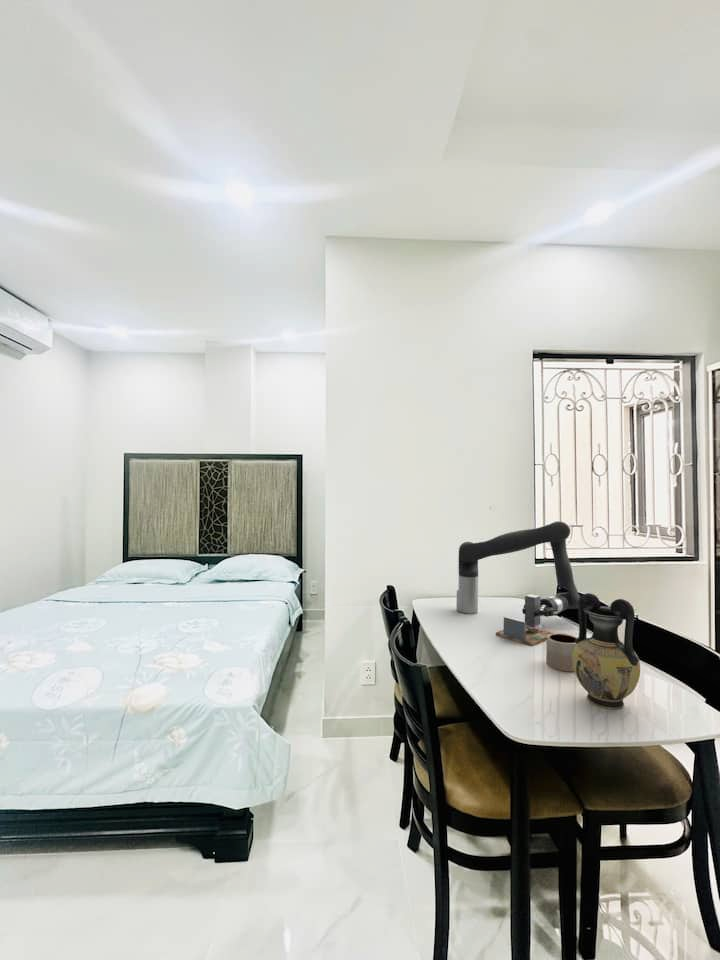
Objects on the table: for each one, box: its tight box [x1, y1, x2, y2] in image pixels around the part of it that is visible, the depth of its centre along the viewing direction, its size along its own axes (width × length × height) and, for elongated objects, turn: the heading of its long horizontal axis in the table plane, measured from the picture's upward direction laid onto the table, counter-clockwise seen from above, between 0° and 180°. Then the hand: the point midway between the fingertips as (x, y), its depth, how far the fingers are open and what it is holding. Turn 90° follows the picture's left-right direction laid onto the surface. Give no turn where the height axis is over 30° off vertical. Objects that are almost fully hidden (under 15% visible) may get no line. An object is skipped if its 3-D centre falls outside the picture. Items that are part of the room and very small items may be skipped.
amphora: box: [572, 593, 641, 710], centre depth 131 cm, size 18×17×30 cm
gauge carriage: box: [524, 593, 544, 633], centre depth 189 cm, size 7×11×14 cm, turn 130°
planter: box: [545, 632, 578, 673], centre depth 157 cm, size 11×11×10 cm
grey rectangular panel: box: [503, 615, 526, 640], centre depth 183 cm, size 9×1×7 cm, turn 40°
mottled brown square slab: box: [495, 629, 554, 647], centre depth 188 cm, size 16×18×1 cm
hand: (529, 612), depth 190 cm, fingers closed on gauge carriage, 4 cm apart
